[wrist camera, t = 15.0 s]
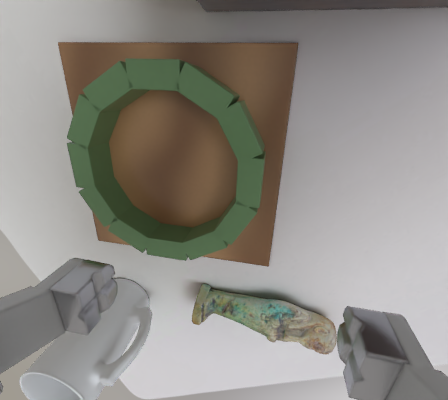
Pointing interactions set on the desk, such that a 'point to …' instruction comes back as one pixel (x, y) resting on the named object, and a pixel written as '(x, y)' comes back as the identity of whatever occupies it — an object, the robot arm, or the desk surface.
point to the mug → (92, 351)
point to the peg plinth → (313, 4)
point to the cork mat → (193, 135)
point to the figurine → (268, 318)
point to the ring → (103, 170)
